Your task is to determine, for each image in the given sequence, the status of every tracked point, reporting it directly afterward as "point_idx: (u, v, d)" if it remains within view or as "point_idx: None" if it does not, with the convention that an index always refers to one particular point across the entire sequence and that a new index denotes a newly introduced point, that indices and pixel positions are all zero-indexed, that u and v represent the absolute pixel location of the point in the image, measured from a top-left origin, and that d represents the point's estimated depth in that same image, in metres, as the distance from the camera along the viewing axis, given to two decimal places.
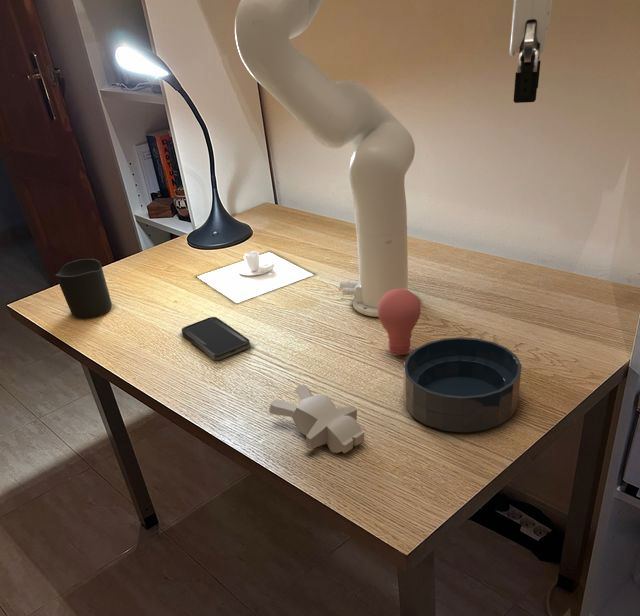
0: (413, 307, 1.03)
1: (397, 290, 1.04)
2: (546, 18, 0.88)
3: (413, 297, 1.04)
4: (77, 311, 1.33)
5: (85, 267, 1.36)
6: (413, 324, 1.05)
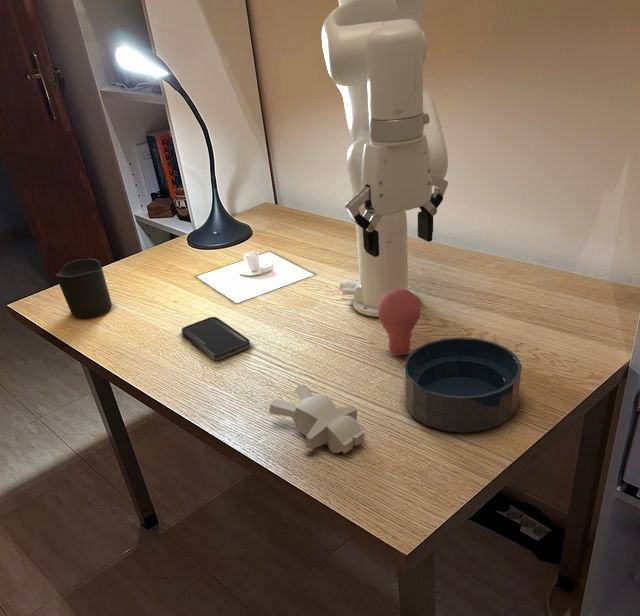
0: (413, 307, 1.03)
1: (397, 290, 1.04)
2: (377, 187, 0.90)
3: (413, 297, 1.04)
4: (77, 311, 1.33)
5: (85, 267, 1.36)
6: (413, 324, 1.05)
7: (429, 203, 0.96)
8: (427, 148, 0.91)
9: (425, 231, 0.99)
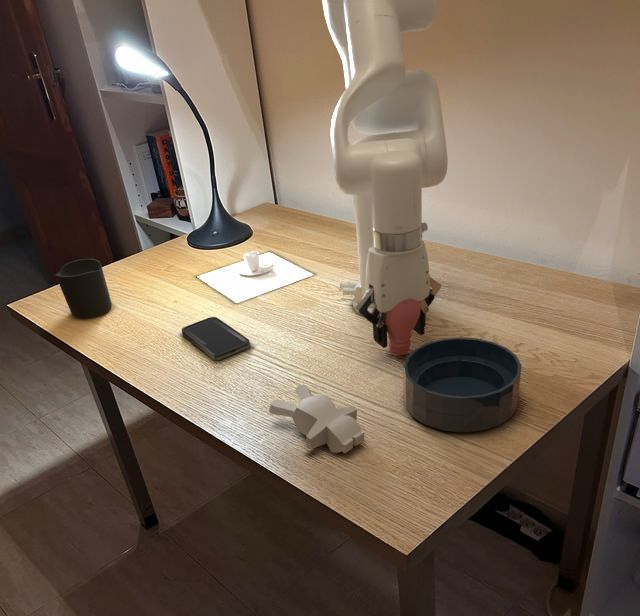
0: (413, 307, 1.03)
1: None
2: (380, 289, 1.00)
3: None
4: (77, 311, 1.33)
5: (85, 267, 1.36)
6: (413, 324, 1.05)
7: (421, 303, 1.06)
8: (425, 253, 1.00)
9: (418, 326, 1.09)
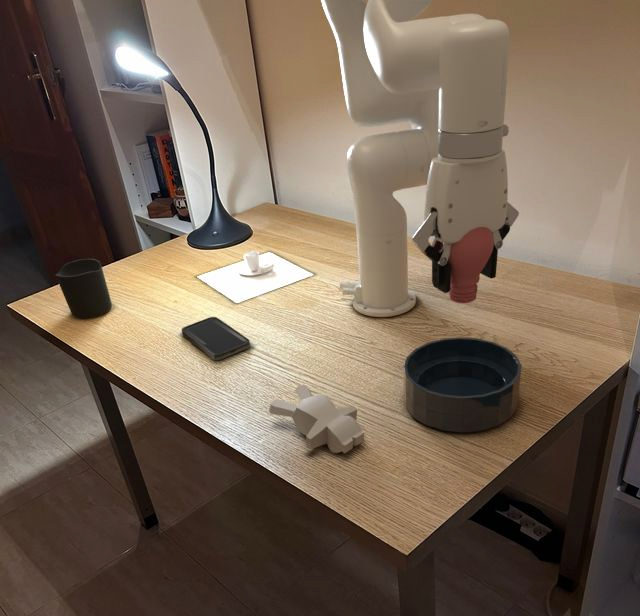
0: (486, 237, 0.80)
1: None
2: (446, 211, 0.77)
3: None
4: (77, 311, 1.33)
5: (85, 267, 1.36)
6: (485, 261, 0.82)
7: (495, 235, 0.83)
8: (505, 165, 0.77)
9: (488, 266, 0.86)
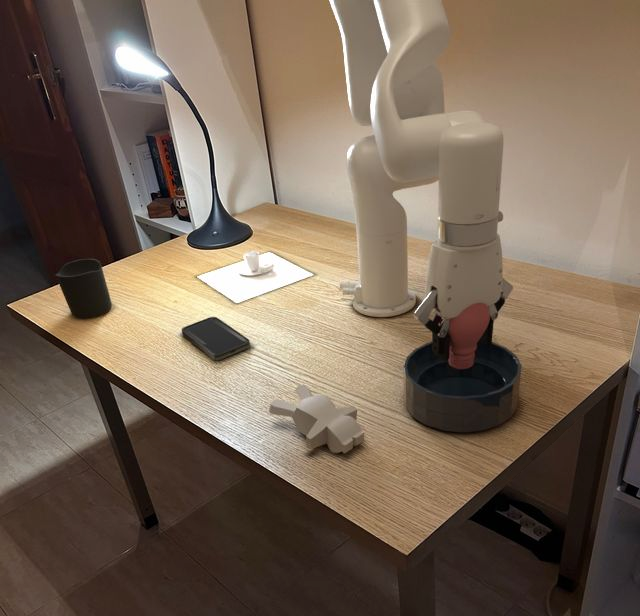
0: (483, 312, 0.86)
1: None
2: (445, 291, 0.83)
3: None
4: (77, 311, 1.33)
5: (85, 267, 1.36)
6: (481, 333, 0.88)
7: (491, 308, 0.89)
8: (500, 248, 0.83)
9: (484, 335, 0.92)
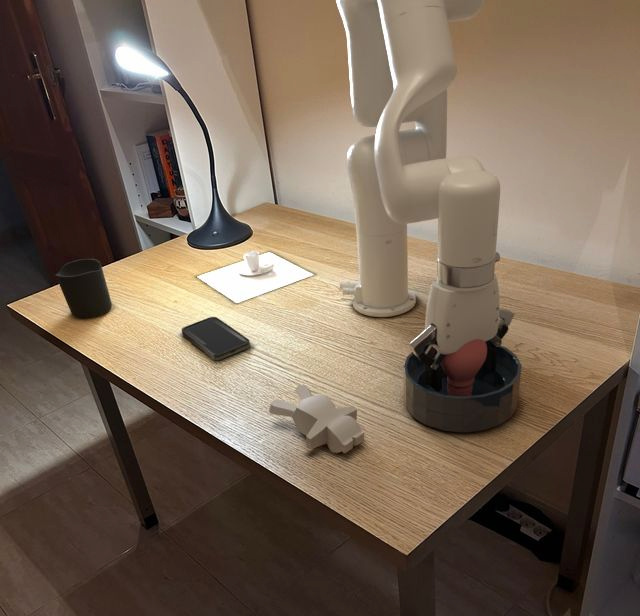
0: (480, 348, 0.89)
1: None
2: (444, 329, 0.86)
3: None
4: (77, 311, 1.33)
5: (85, 267, 1.36)
6: (479, 368, 0.91)
7: (494, 336, 0.92)
8: (497, 288, 0.86)
9: (488, 361, 0.95)
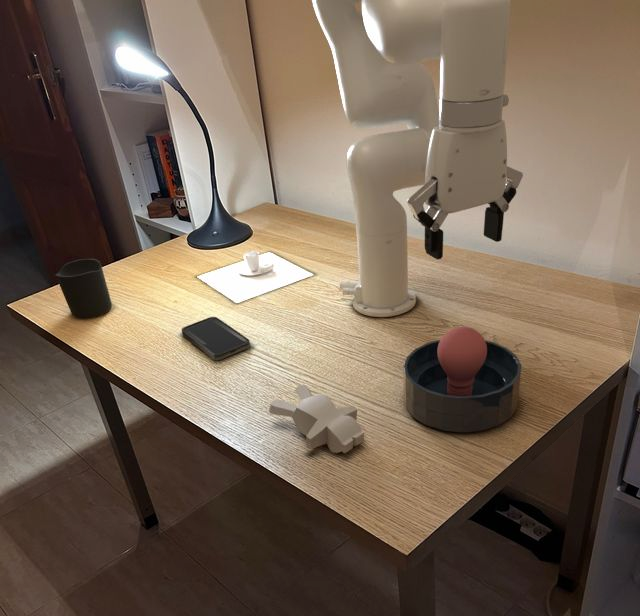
0: (480, 348, 0.89)
1: (461, 329, 0.90)
2: (446, 180, 0.78)
3: (480, 337, 0.90)
4: (77, 311, 1.33)
5: (85, 267, 1.36)
6: (479, 368, 0.91)
7: (501, 198, 0.84)
8: (505, 135, 0.78)
9: (494, 230, 0.87)
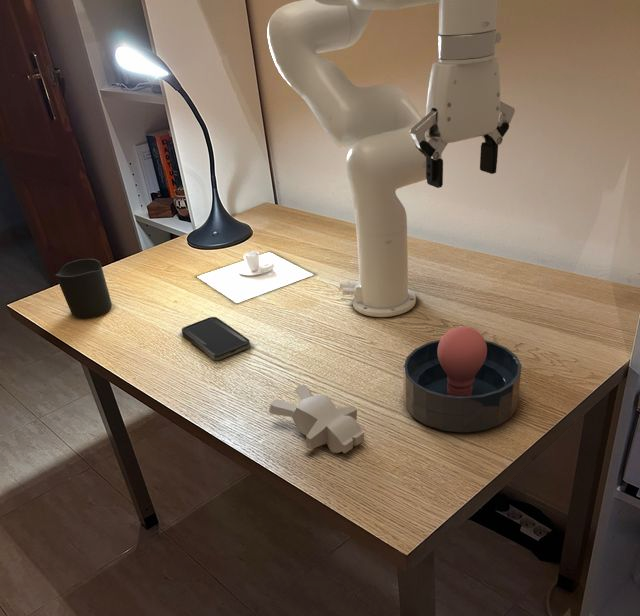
0: (480, 348, 0.89)
1: (461, 329, 0.90)
2: (445, 109, 0.86)
3: (480, 337, 0.90)
4: (77, 311, 1.33)
5: (85, 267, 1.36)
6: (479, 368, 0.91)
7: (495, 131, 0.92)
8: (497, 69, 0.86)
9: (489, 162, 0.95)
